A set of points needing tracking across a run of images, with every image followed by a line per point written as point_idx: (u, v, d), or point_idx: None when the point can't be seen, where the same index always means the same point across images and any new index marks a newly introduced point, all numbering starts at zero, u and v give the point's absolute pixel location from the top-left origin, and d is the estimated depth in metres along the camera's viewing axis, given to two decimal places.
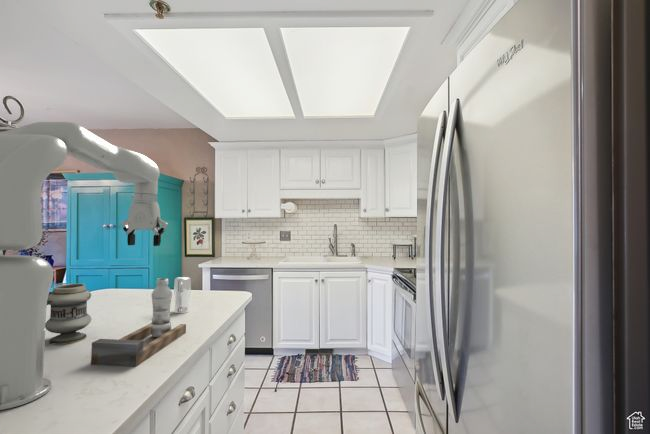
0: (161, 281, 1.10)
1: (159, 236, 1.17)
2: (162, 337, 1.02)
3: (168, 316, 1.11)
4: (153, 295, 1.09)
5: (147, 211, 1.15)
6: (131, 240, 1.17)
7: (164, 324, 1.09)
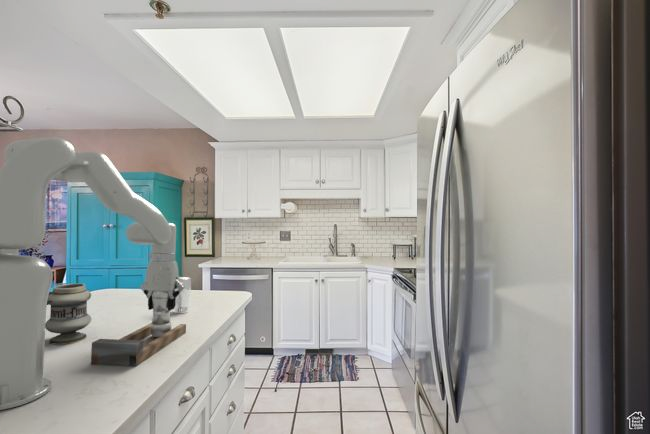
0: None
1: (174, 299, 1.11)
2: (162, 337, 1.02)
3: (168, 316, 1.11)
4: (153, 295, 1.09)
5: (165, 272, 1.09)
6: (152, 304, 1.11)
7: (164, 324, 1.09)
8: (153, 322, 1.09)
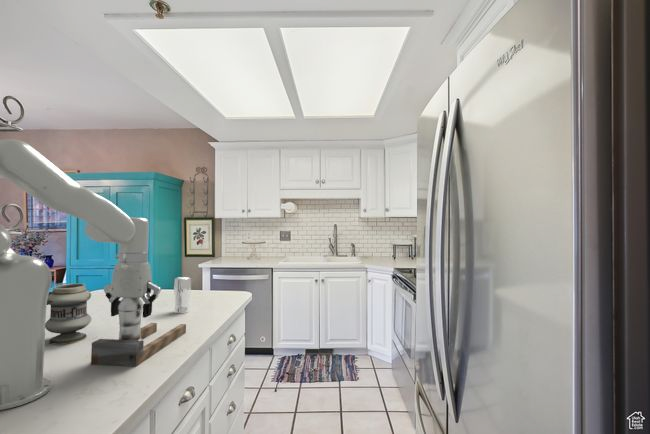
0: None
1: (150, 304, 0.95)
2: (162, 337, 1.02)
3: (138, 332, 0.94)
4: (119, 307, 0.92)
5: (135, 275, 0.93)
6: (115, 309, 0.95)
7: None
8: (119, 339, 0.93)
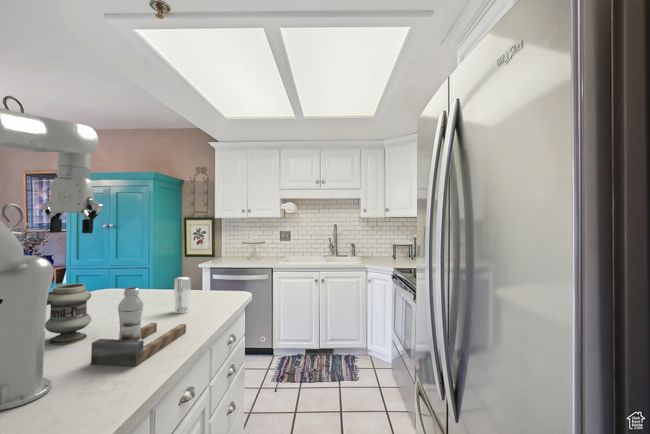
0: (129, 291, 0.93)
1: (90, 221, 0.93)
2: (162, 337, 1.02)
3: (138, 332, 0.94)
4: (119, 307, 0.92)
5: (73, 189, 0.90)
6: (55, 226, 0.93)
7: None
8: (120, 339, 0.93)
